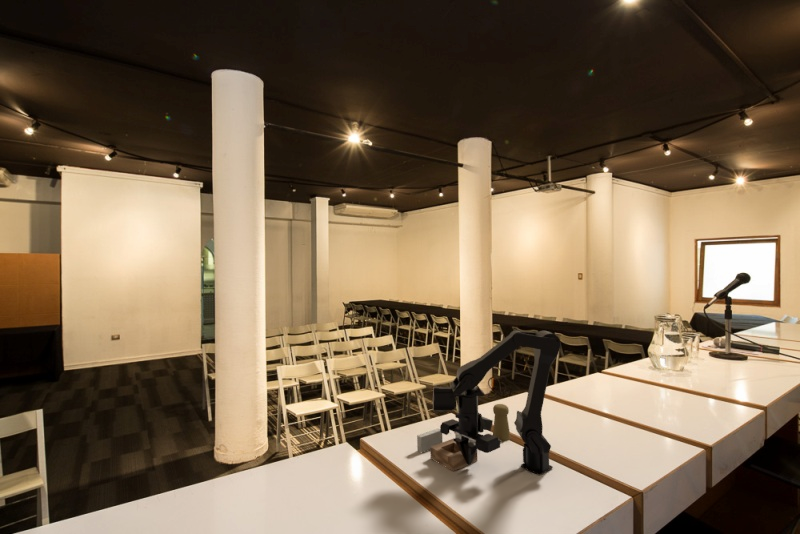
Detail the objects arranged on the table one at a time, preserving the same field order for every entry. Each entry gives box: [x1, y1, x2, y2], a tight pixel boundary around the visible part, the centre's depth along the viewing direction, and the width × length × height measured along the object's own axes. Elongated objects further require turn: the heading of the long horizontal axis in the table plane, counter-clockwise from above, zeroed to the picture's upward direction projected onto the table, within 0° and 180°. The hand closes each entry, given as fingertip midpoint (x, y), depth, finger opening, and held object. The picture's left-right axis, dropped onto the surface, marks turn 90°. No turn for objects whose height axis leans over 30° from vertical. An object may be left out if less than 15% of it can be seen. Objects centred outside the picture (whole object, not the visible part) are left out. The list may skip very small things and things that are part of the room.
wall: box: [416, 427, 443, 453], centre depth 127 cm, size 2×9×5 cm, turn 126°
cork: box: [492, 403, 512, 442], centre depth 134 cm, size 6×6×11 cm
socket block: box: [429, 437, 478, 472], centre depth 119 cm, size 10×10×4 cm
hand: (469, 464), depth 114 cm, fingers closed
